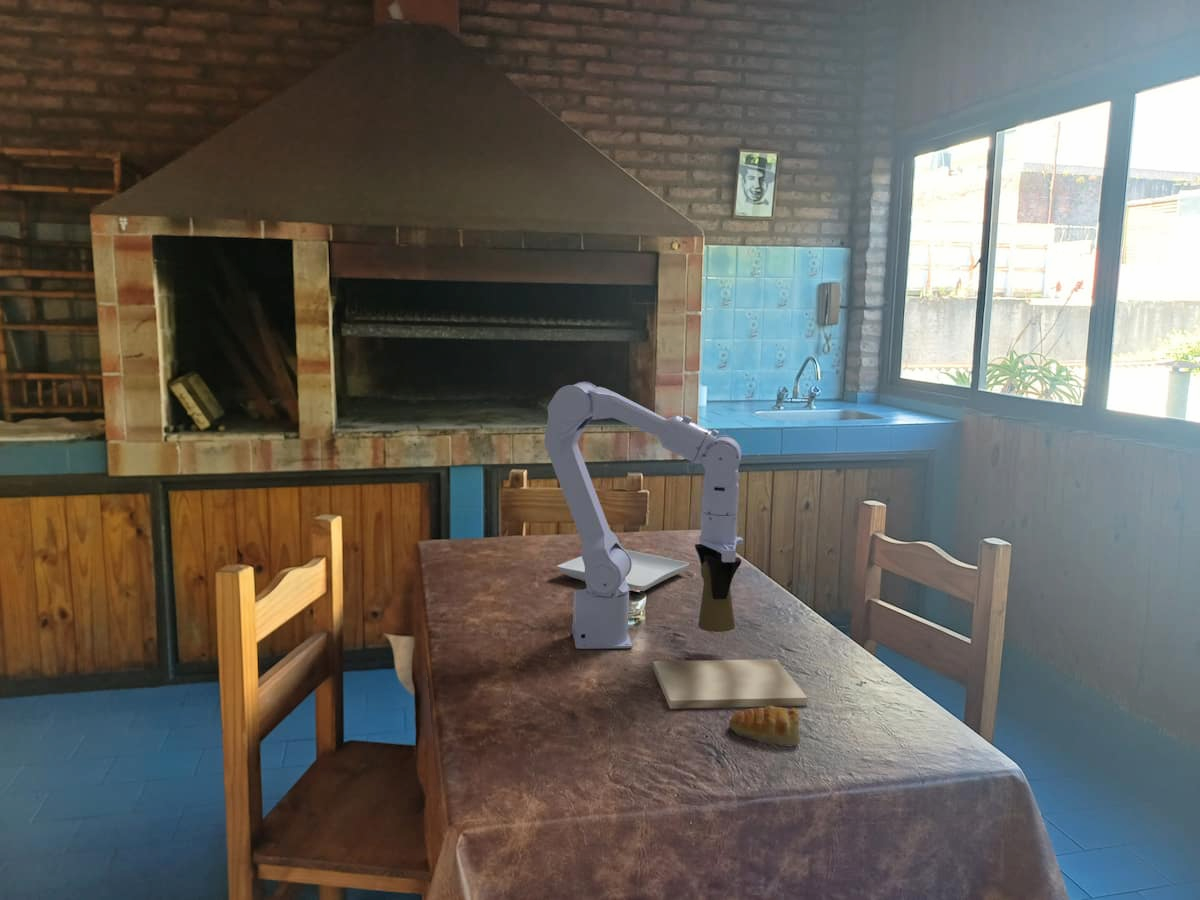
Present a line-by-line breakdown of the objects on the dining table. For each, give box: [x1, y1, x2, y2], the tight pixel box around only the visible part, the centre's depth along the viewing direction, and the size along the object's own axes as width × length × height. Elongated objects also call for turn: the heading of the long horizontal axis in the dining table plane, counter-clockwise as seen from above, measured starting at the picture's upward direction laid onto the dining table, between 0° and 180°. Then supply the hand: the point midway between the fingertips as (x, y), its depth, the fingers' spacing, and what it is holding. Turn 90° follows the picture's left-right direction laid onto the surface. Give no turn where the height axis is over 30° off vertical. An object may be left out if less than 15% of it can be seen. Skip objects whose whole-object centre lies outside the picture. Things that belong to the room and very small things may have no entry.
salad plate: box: [556, 549, 690, 592], centre depth 181 cm, size 21×21×3 cm
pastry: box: [729, 706, 801, 747], centre depth 114 cm, size 9×7×4 cm
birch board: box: [652, 658, 808, 710], centre depth 128 cm, size 20×14×1 cm
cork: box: [697, 561, 736, 633], centre depth 140 cm, size 6×6×11 cm
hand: (715, 592), depth 140 cm, fingers closed on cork, 5 cm apart
